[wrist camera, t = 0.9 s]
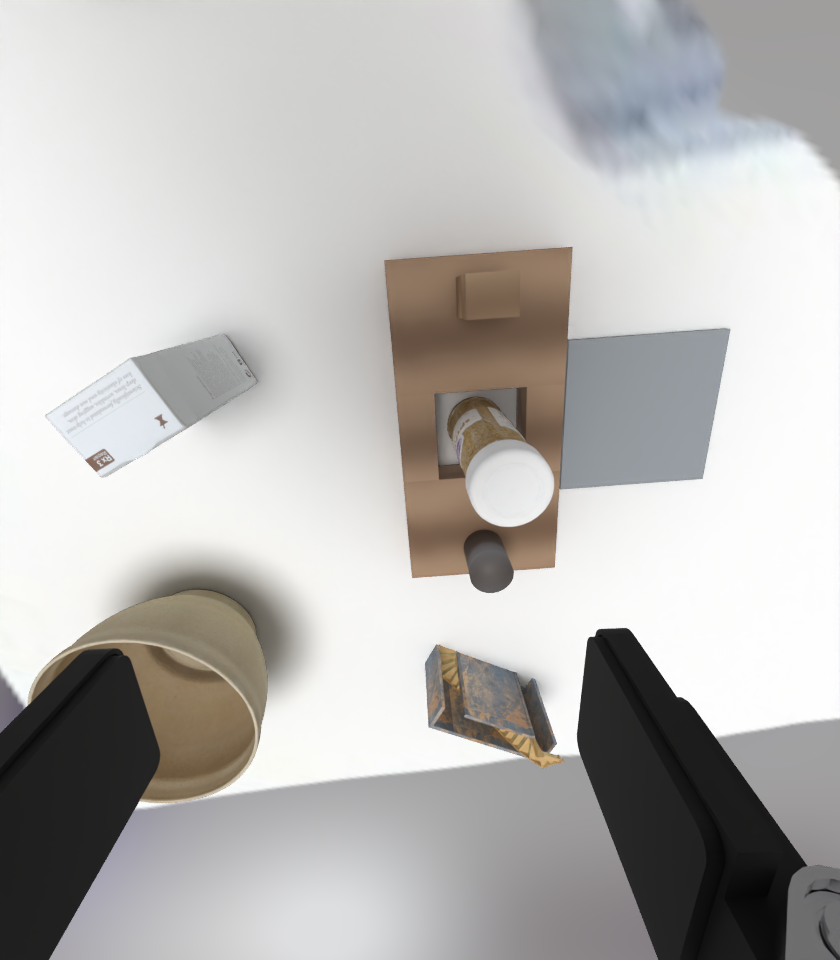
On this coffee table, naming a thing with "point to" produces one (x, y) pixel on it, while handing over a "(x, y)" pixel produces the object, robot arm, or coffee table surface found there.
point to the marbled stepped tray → (487, 706)
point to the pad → (639, 407)
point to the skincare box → (150, 401)
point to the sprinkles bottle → (499, 465)
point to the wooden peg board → (472, 367)
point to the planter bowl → (187, 686)
